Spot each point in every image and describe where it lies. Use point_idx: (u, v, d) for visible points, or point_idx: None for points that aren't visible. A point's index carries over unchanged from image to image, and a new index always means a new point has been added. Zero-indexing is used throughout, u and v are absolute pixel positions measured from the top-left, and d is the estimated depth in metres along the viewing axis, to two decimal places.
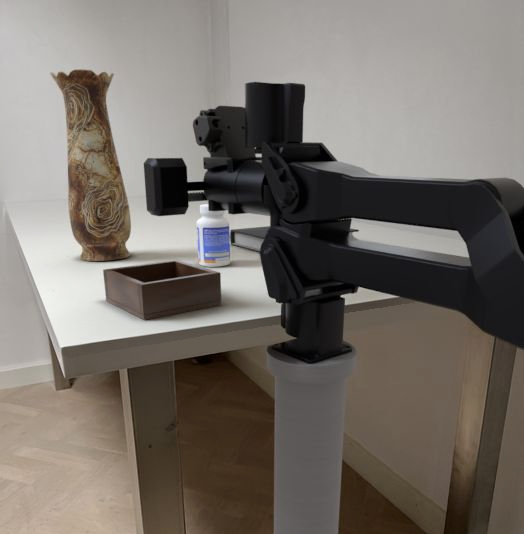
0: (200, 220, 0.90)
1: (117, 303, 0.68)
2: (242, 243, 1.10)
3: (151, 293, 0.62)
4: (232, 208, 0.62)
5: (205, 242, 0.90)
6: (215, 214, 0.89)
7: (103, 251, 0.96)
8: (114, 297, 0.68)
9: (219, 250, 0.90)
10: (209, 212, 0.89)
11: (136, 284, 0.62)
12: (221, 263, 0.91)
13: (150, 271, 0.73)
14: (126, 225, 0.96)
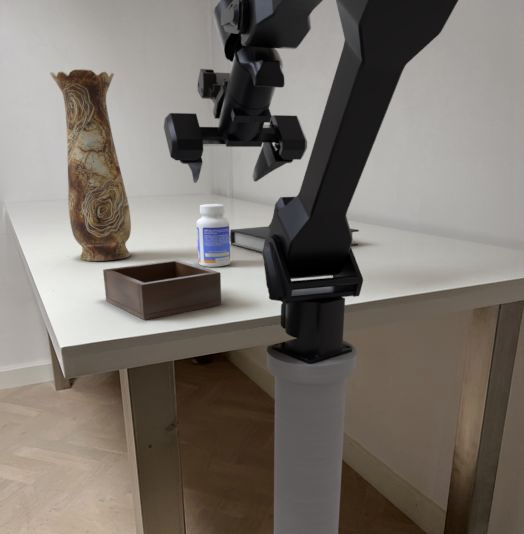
0: (200, 220, 0.90)
1: (117, 303, 0.68)
2: (242, 243, 1.10)
3: (151, 293, 0.62)
4: (233, 113, 0.67)
5: (205, 242, 0.90)
6: (215, 214, 0.89)
7: (103, 251, 0.96)
8: (114, 297, 0.68)
9: (219, 250, 0.90)
10: (209, 212, 0.89)
11: (136, 284, 0.62)
12: (221, 263, 0.91)
13: (150, 271, 0.73)
14: (126, 225, 0.96)
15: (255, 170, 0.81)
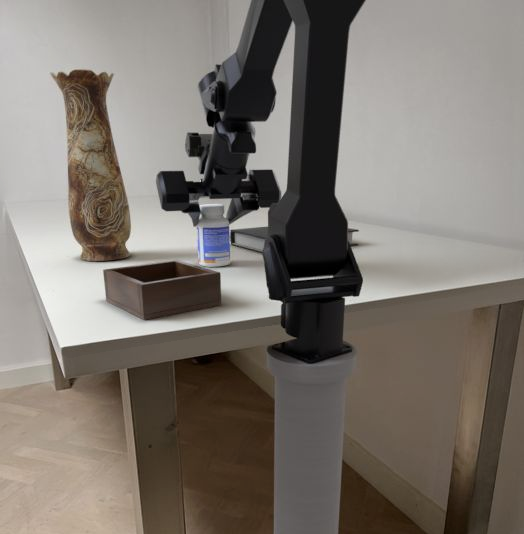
0: (200, 220, 0.90)
1: (117, 303, 0.68)
2: (242, 243, 1.10)
3: (151, 293, 0.62)
4: (214, 172, 0.78)
5: (205, 242, 0.90)
6: (215, 214, 0.89)
7: (103, 251, 0.96)
8: (114, 297, 0.68)
9: (219, 250, 0.90)
10: (209, 212, 0.89)
11: (136, 284, 0.62)
12: (221, 263, 0.91)
13: (150, 271, 0.73)
14: (126, 225, 0.96)
15: (227, 215, 0.92)
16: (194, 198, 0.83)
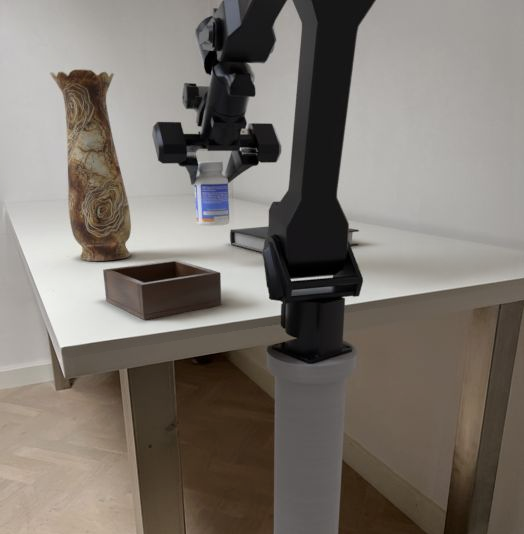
0: (198, 177, 0.87)
1: (117, 303, 0.68)
2: (242, 243, 1.10)
3: (151, 293, 0.62)
4: (212, 120, 0.76)
5: (203, 199, 0.87)
6: (213, 171, 0.86)
7: (103, 251, 0.96)
8: (114, 297, 0.68)
9: (218, 208, 0.88)
10: (207, 168, 0.86)
11: (136, 284, 0.62)
12: (220, 222, 0.88)
13: (150, 271, 0.73)
14: (126, 225, 0.96)
15: (226, 173, 0.89)
16: (192, 150, 0.80)
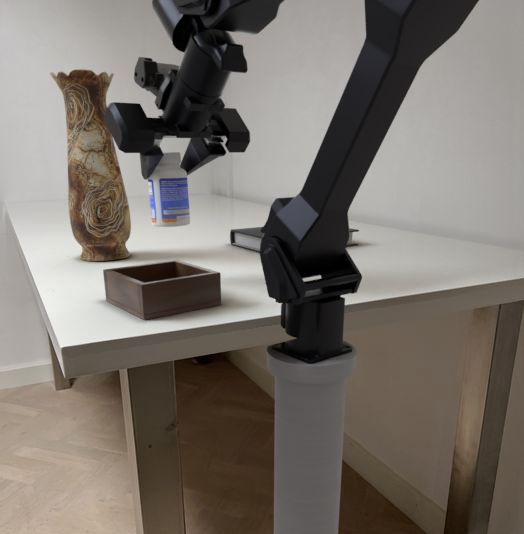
0: (154, 170, 0.74)
1: (117, 303, 0.68)
2: (242, 243, 1.10)
3: (151, 293, 0.62)
4: (188, 101, 0.64)
5: (163, 196, 0.74)
6: (173, 162, 0.74)
7: (103, 251, 0.96)
8: (114, 297, 0.68)
9: (180, 205, 0.75)
10: (166, 159, 0.73)
11: (136, 284, 0.62)
12: (183, 222, 0.76)
13: (150, 271, 0.73)
14: (126, 225, 0.96)
15: (182, 166, 0.77)
16: (157, 137, 0.67)
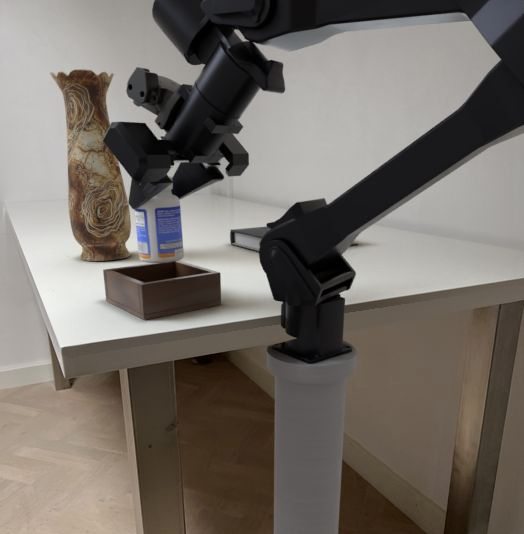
0: None
1: (117, 303, 0.68)
2: (242, 243, 1.10)
3: (151, 293, 0.62)
4: (211, 122, 0.56)
5: (160, 228, 0.64)
6: (168, 189, 0.64)
7: (103, 251, 0.96)
8: (114, 297, 0.68)
9: (178, 238, 0.66)
10: None
11: (136, 284, 0.62)
12: (180, 256, 0.67)
13: (150, 271, 0.73)
14: (126, 225, 0.96)
15: None
16: None
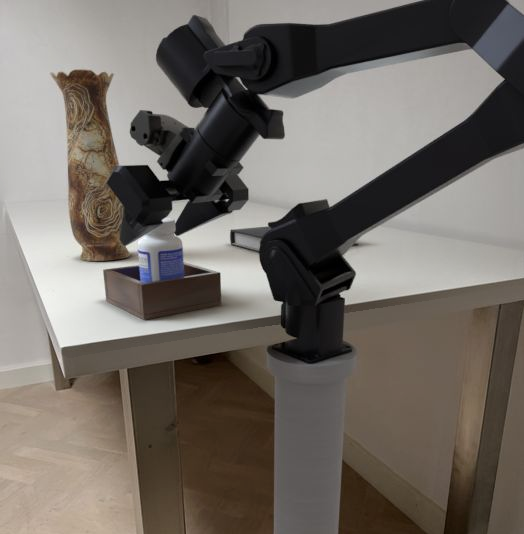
0: (150, 242, 0.65)
1: (117, 303, 0.68)
2: (242, 243, 1.10)
3: (151, 293, 0.62)
4: (212, 166, 0.57)
5: (163, 270, 0.66)
6: (171, 232, 0.66)
7: (103, 251, 0.96)
8: (114, 297, 0.68)
9: None
10: (164, 229, 0.65)
11: (136, 284, 0.62)
12: None
13: None
14: None
15: (179, 223, 0.70)
16: None
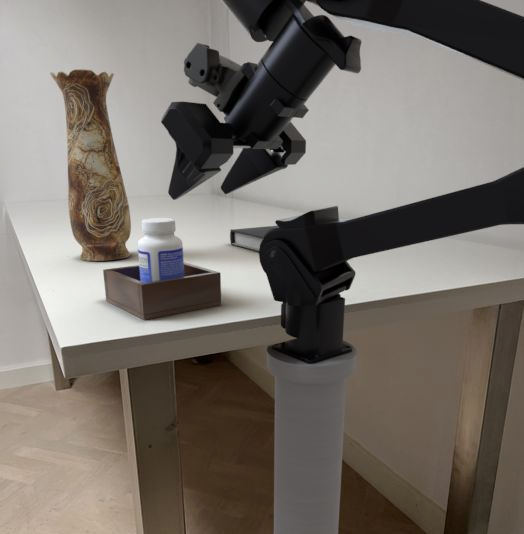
0: (151, 242, 0.65)
1: (117, 303, 0.68)
2: (242, 243, 1.10)
3: (151, 293, 0.62)
4: (279, 104, 0.51)
5: (163, 270, 0.66)
6: (171, 232, 0.66)
7: (103, 251, 0.96)
8: (114, 297, 0.68)
9: None
10: (164, 229, 0.65)
11: (136, 284, 0.62)
12: None
13: None
14: (126, 225, 0.96)
15: (229, 180, 0.64)
16: None
